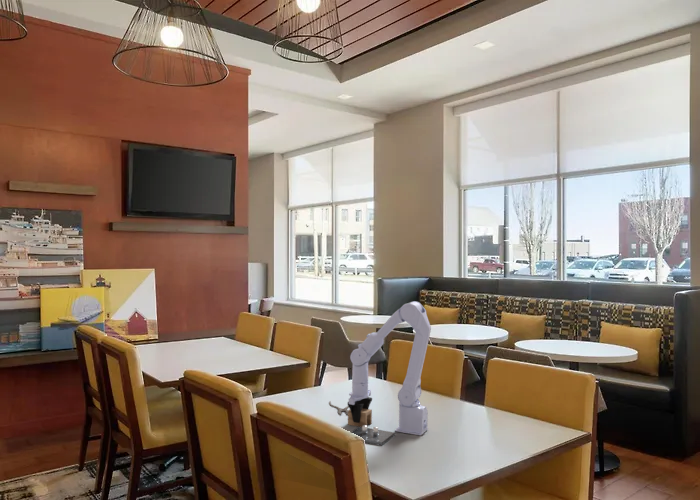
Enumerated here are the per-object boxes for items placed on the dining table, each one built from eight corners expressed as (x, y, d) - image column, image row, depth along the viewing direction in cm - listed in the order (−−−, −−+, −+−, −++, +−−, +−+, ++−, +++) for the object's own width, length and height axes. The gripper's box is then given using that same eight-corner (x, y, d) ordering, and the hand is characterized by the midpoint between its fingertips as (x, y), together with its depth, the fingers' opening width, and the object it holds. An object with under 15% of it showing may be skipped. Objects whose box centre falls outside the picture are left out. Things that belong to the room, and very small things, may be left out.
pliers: (349, 399, 223) (365, 412, 204) (349, 401, 223) (364, 415, 204) (326, 401, 220) (340, 414, 201) (326, 403, 220) (340, 417, 201)
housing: (371, 423, 192) (371, 409, 192) (365, 427, 187) (365, 413, 187) (354, 420, 195) (354, 407, 195) (347, 424, 191) (348, 410, 191)
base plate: (394, 435, 179) (394, 424, 179) (381, 445, 170) (381, 434, 170) (359, 429, 185) (359, 419, 185) (345, 439, 175) (345, 428, 175)
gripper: (358, 376, 200) (358, 413, 200) (340, 384, 187) (340, 424, 187) (376, 378, 197) (375, 416, 196) (359, 387, 184) (358, 427, 183)
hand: (359, 420), depth 191 cm, fingers closed on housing, 5 cm apart
